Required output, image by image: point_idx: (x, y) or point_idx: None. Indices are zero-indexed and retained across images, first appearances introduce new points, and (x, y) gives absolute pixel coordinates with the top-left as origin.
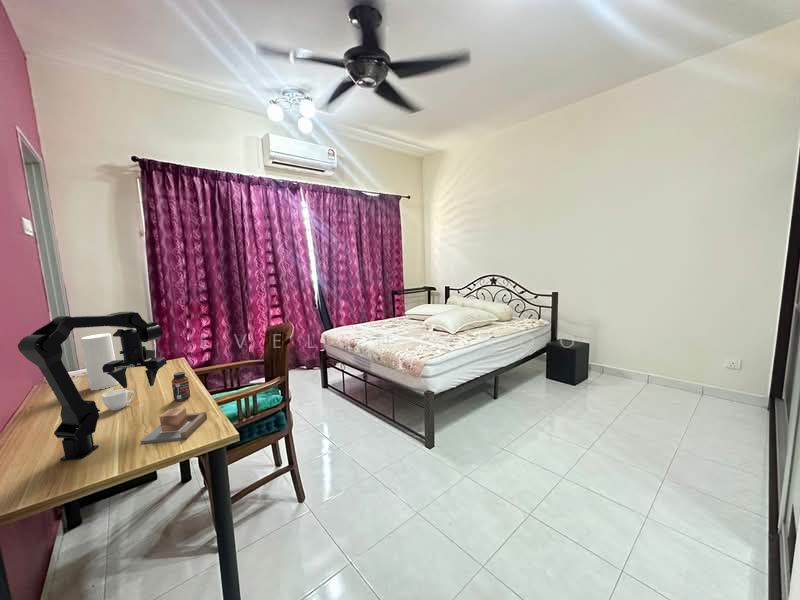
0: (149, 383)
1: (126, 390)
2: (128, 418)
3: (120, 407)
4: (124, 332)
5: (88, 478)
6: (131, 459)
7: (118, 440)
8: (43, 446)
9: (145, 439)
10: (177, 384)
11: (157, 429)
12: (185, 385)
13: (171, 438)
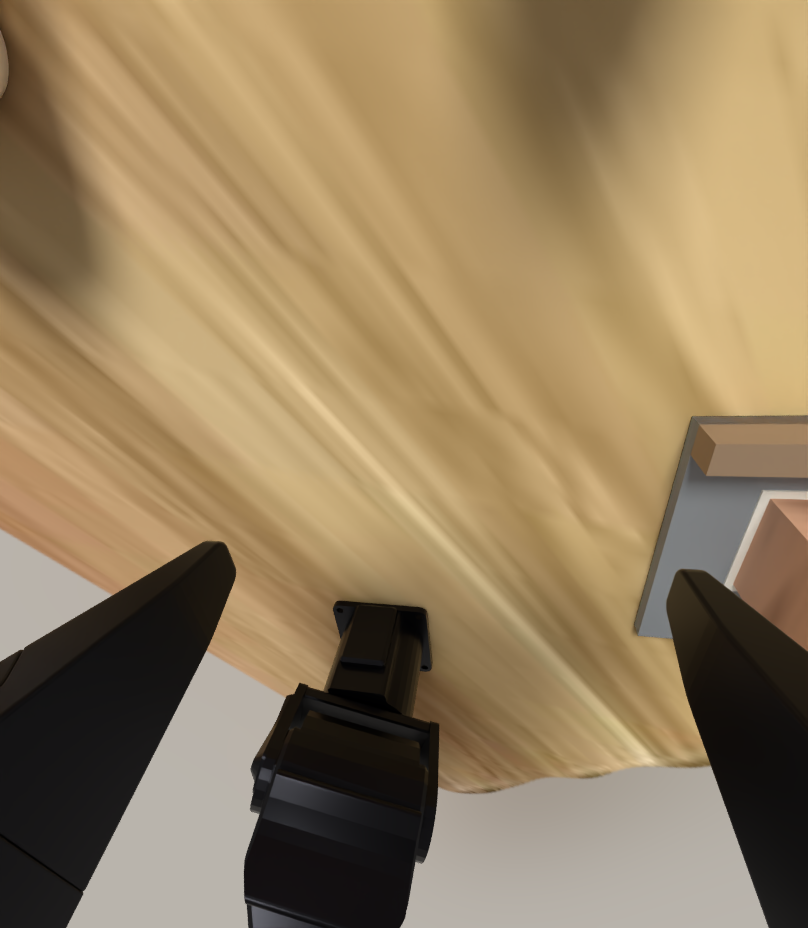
0: (693, 693)
1: None
2: (298, 305)
3: (2, 66)
4: None
5: (559, 752)
6: (659, 711)
7: (480, 575)
8: (148, 550)
9: (659, 629)
10: None
11: (683, 548)
12: None
13: None
